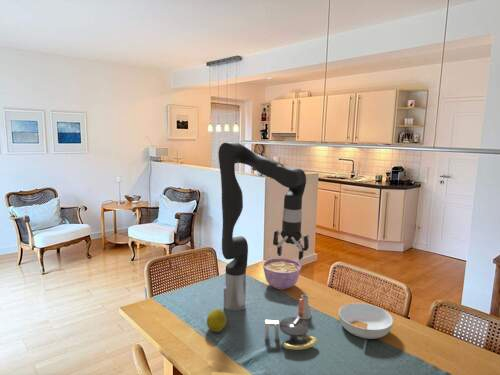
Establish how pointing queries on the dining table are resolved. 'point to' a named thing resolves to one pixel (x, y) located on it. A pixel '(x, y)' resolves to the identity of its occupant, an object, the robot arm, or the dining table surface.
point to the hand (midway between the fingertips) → (289, 257)
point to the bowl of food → (281, 272)
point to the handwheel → (297, 329)
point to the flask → (306, 308)
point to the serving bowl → (366, 320)
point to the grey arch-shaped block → (271, 323)
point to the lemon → (216, 320)
